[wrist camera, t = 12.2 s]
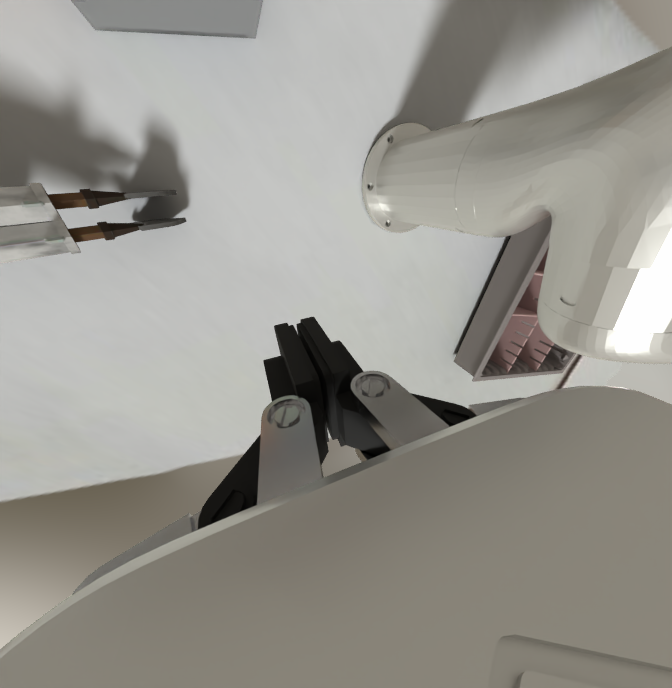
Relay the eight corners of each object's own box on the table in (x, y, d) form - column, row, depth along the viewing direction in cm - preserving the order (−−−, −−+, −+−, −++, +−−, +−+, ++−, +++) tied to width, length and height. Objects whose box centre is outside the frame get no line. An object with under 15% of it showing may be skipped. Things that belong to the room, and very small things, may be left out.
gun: (-265, 207, 19) (-608, 210, 9) (146, 183, 34) (179, 174, 24) (-182, 277, 22) (-378, 335, 12) (163, 226, 36) (199, 234, 27)
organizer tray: (445, 361, 59) (480, 388, 51) (539, 149, 41) (615, 139, 33) (531, 357, 71) (570, 378, 63) (632, 193, 53) (704, 194, 45)
